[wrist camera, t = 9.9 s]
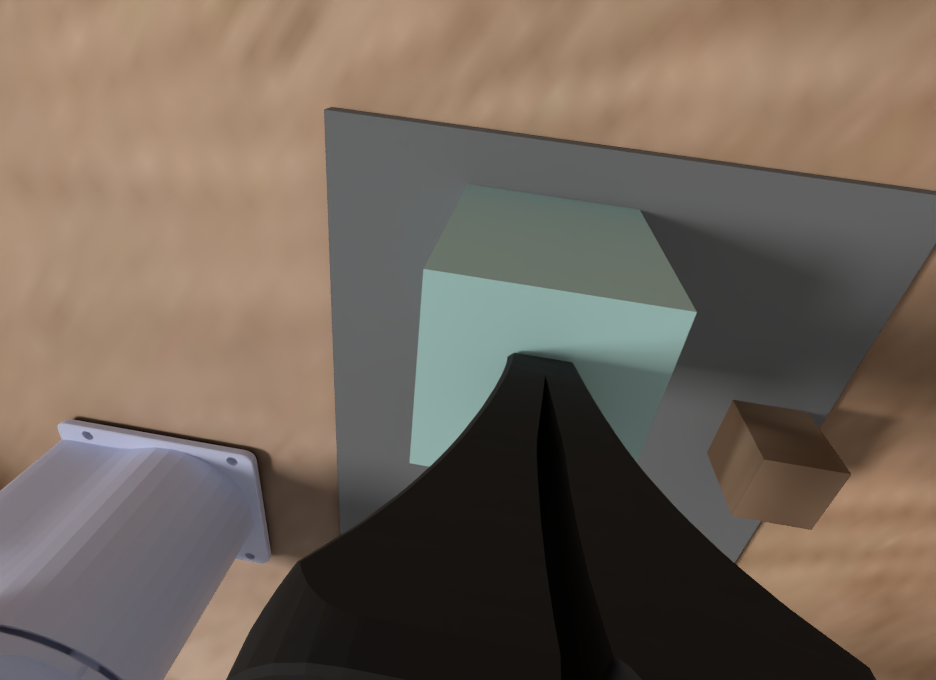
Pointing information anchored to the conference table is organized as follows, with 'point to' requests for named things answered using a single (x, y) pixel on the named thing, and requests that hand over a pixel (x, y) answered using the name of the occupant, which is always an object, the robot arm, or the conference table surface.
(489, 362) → the pale aqua cube
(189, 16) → the conference table surface
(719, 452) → the brown cube
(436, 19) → the conference table surface
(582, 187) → the mat
